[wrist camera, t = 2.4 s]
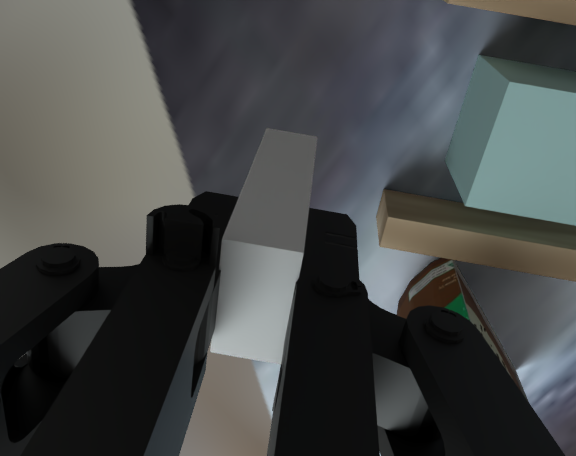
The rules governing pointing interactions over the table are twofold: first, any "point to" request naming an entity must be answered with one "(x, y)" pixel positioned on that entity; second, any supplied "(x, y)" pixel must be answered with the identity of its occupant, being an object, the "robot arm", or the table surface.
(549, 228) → the guide channel
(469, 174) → the pale teal block
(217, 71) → the table surface
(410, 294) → the food container
